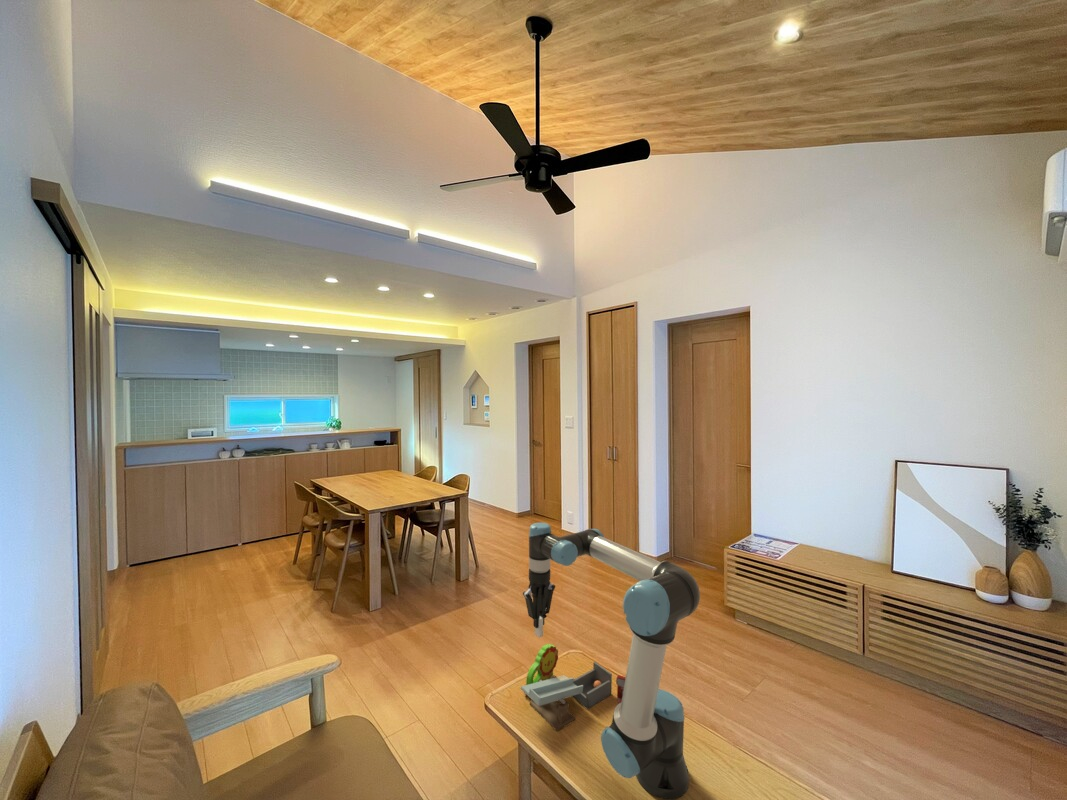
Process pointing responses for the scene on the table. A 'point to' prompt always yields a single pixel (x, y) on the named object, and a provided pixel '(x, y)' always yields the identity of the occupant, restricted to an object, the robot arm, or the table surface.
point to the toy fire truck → (620, 687)
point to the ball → (597, 683)
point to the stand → (554, 714)
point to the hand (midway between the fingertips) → (538, 635)
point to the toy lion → (543, 664)
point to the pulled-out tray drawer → (590, 693)
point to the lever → (552, 690)
